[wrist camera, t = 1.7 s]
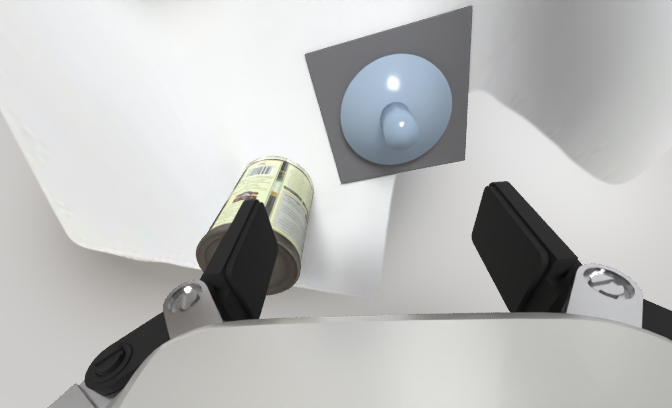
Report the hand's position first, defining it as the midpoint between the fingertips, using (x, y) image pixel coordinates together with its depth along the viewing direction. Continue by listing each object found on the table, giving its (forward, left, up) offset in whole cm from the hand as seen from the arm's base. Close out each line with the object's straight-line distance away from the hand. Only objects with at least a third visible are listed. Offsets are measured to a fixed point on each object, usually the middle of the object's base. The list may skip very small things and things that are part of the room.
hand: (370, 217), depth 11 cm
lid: (-3, +3, -21) cm, 22 cm away
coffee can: (+14, +10, -22) cm, 28 cm away
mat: (-3, +3, -22) cm, 22 cm away
